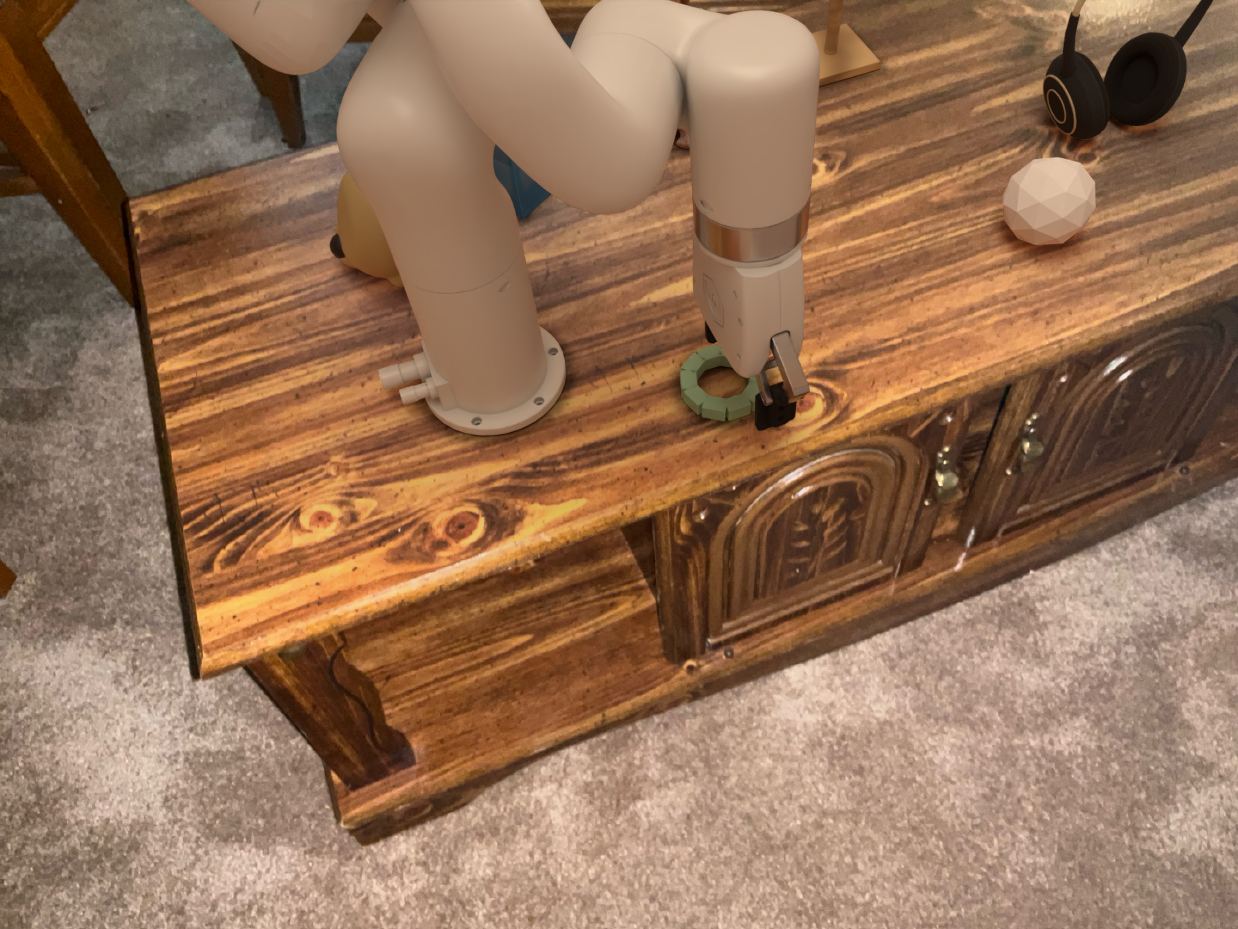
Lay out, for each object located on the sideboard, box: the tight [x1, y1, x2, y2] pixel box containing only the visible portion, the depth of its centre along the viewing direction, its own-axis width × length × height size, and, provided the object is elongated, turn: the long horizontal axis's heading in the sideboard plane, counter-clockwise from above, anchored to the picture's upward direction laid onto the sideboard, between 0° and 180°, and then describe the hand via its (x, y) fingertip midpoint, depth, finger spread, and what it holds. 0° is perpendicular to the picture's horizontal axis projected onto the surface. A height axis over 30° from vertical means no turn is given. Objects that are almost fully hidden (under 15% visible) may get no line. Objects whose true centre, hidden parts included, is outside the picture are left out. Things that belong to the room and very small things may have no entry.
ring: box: [679, 343, 760, 422], centre depth 82 cm, size 7×7×1 cm
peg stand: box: [811, 0, 881, 87], centre depth 102 cm, size 8×8×11 cm
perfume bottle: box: [493, 144, 552, 220], centre depth 93 cm, size 6×6×12 cm
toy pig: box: [329, 171, 404, 288], centre depth 90 cm, size 10×12×11 cm
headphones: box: [1042, 0, 1214, 141], centre depth 89 cm, size 9×15×20 cm, turn 105°
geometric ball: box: [1002, 156, 1097, 246], centre depth 86 cm, size 8×8×8 cm
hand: (748, 378), depth 77 cm, fingers open, 9 cm apart
